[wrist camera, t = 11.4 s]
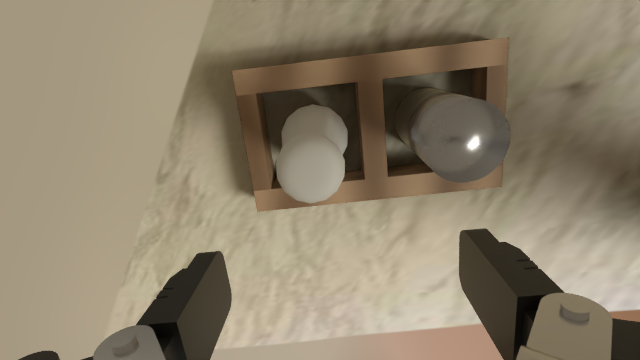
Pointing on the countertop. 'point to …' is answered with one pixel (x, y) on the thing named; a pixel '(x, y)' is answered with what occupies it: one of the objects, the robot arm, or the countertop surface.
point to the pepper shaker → (453, 133)
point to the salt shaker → (312, 154)
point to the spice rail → (367, 117)
